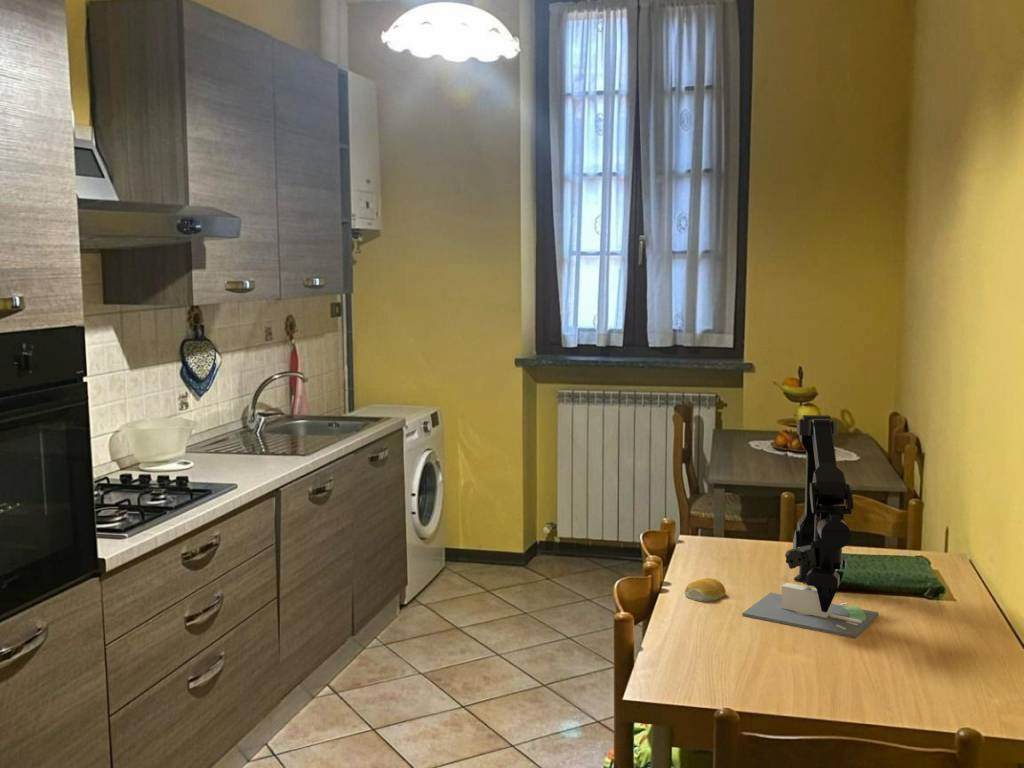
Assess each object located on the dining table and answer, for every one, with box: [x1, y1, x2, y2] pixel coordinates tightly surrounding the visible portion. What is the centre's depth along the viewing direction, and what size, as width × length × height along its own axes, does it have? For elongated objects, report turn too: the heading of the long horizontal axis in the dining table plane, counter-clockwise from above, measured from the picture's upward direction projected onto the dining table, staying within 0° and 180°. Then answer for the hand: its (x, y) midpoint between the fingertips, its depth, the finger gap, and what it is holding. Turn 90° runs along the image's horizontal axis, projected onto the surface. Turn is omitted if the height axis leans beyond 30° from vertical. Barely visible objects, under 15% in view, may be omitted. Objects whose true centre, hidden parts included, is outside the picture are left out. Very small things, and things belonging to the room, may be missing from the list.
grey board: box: [742, 592, 880, 639], centre depth 217 cm, size 18×24×1 cm
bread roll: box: [684, 577, 726, 602], centre depth 230 cm, size 8×9×4 cm
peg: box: [781, 582, 862, 624], centre depth 214 cm, size 3×17×5 cm, turn 50°
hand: (825, 608), depth 214 cm, fingers open, 4 cm apart
